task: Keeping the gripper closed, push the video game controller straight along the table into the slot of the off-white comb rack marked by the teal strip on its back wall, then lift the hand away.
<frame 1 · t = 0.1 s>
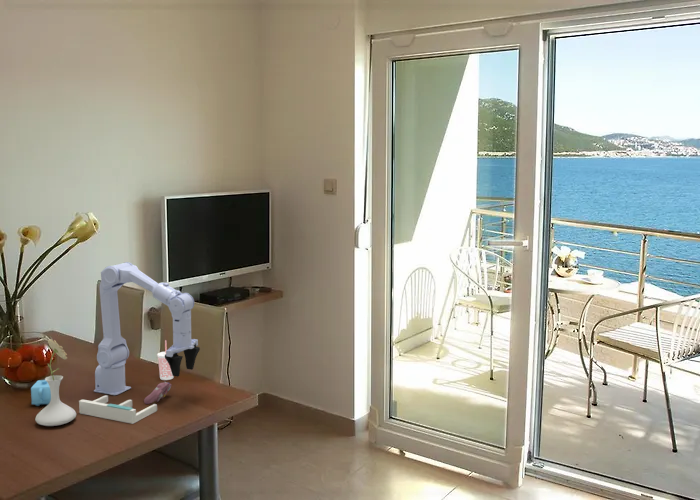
hand: (183, 372, 224), 10 cm above the table, tool pointing down, fingers open, 7 cm apart
flower in vase: (56, 421, 209), on the table
comb rack: (120, 411, 217), on the table
video game controller: (158, 400, 227), on the table
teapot: (46, 402, 224), on the table
beverage cup: (166, 378, 249), on the table
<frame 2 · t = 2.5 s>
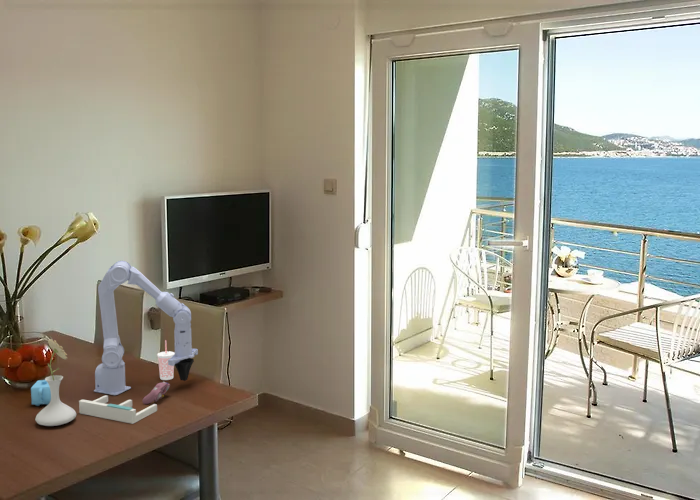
hand: (183, 379, 240), 2 cm above the table, tool pointing down, fingers closed
nothing on the table moved.
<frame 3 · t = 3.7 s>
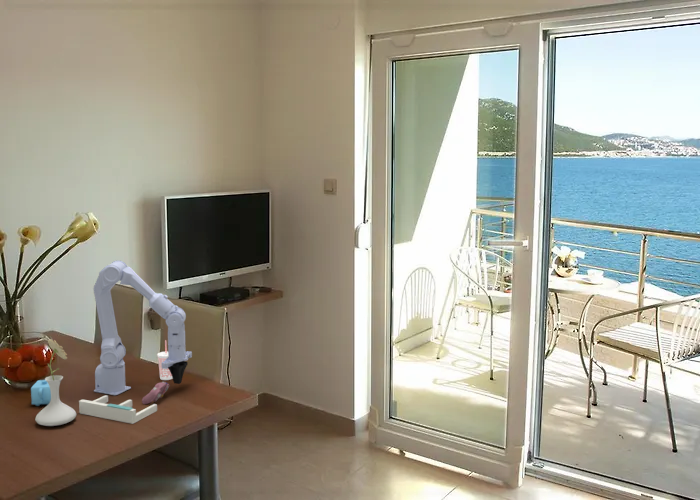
hand: (177, 383, 236), 2 cm above the table, tool pointing down, fingers closed
nothing on the table moved.
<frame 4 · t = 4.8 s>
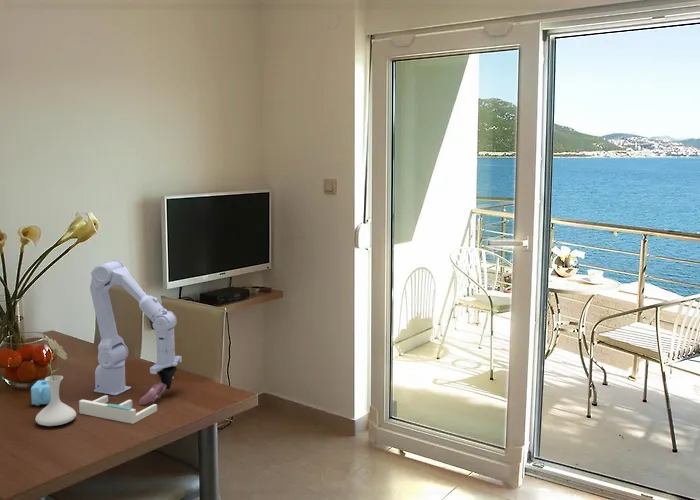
hand: (166, 388, 231), 2 cm above the table, tool pointing down, fingers closed
video game controller: (153, 401, 226), on the table, touching gripper
everything else where it was.
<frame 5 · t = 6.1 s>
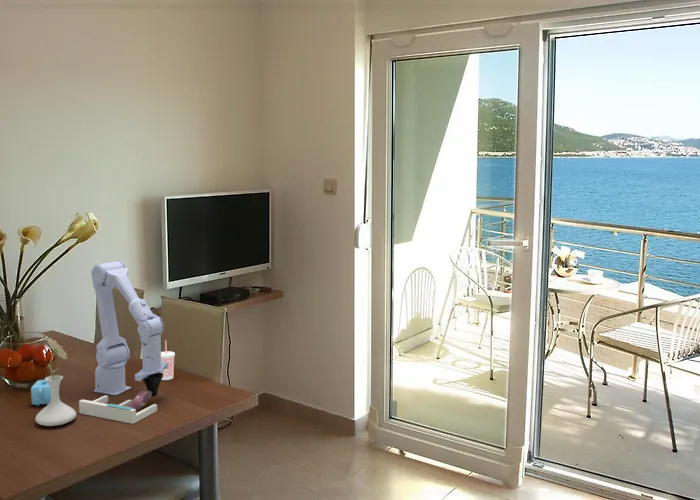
hand: (152, 395, 224), 2 cm above the table, tool pointing down, fingers closed
video game controller: (139, 409, 219), on the table, touching gripper
everything else where it was.
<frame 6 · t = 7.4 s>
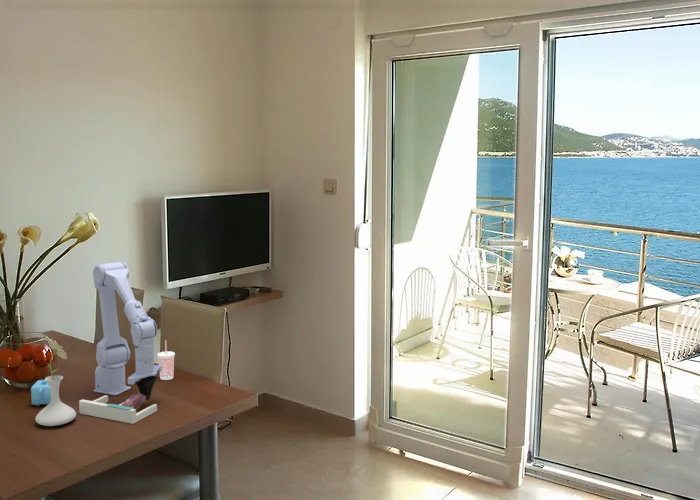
hand: (146, 399, 221), 2 cm above the table, tool pointing down, fingers closed
video game controller: (131, 412, 216), on the table, touching gripper
everything else where it was.
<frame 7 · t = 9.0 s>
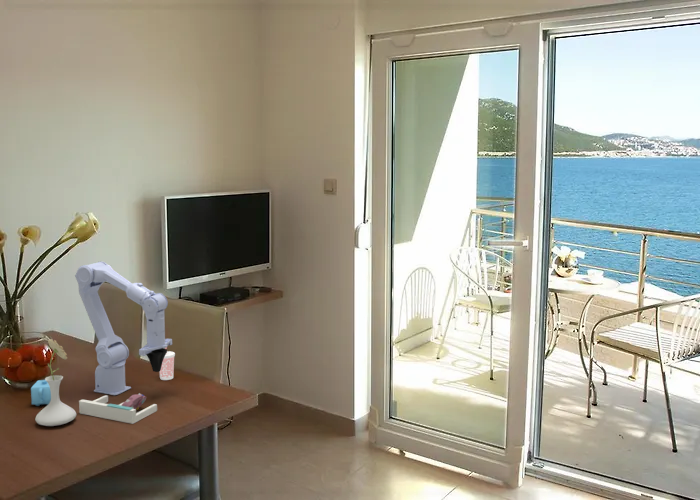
hand: (156, 371, 229), 9 cm above the table, tool pointing down, fingers closed
video game controller: (131, 413, 216), on the table
everything else where it was.
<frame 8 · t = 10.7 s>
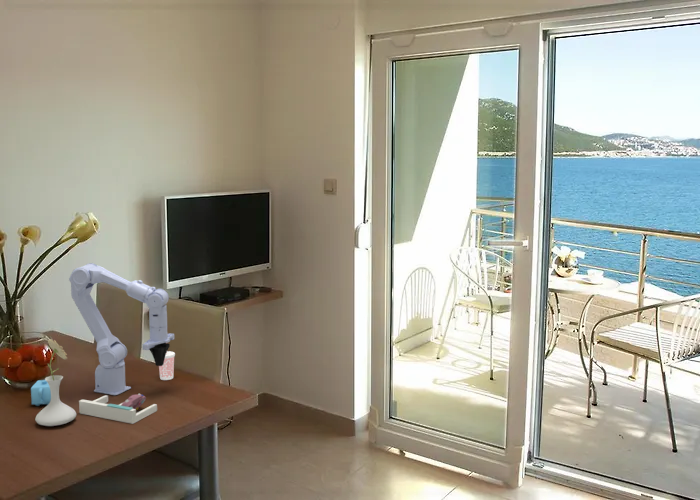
hand: (159, 365, 233), 9 cm above the table, tool pointing down, fingers closed
video game controller: (130, 413, 216), on the table, touching comb rack
everything else where it was.
at the end: video game controller 1.1 cm from the target spot, on the table; video game controller tilted 0°; video game controller moved 12.5 cm from its start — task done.
